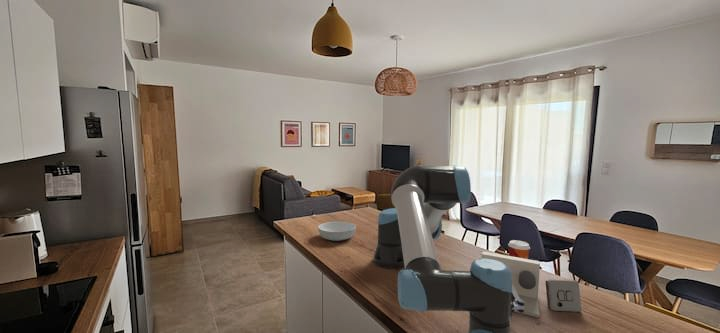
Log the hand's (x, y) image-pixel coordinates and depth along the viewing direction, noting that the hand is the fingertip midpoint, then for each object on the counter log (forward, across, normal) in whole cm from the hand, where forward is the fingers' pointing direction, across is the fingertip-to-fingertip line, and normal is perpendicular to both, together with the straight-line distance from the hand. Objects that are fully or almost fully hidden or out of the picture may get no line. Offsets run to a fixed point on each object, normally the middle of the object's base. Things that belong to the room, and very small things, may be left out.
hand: (500, 276), depth 89 cm
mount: (+14, +2, -13) cm, 19 cm away
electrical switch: (+17, +17, -14) cm, 28 cm away
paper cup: (+35, +4, -13) cm, 37 cm away
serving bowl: (+38, -84, -13) cm, 93 cm away
